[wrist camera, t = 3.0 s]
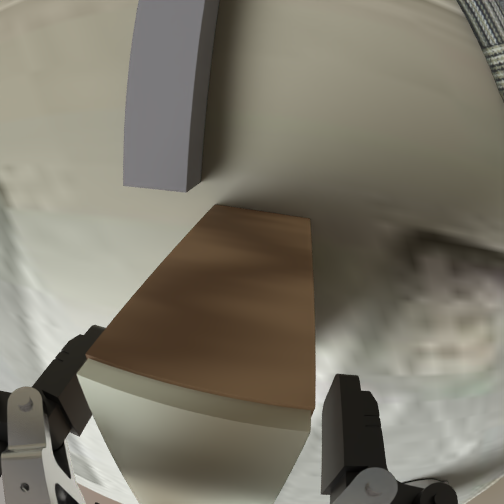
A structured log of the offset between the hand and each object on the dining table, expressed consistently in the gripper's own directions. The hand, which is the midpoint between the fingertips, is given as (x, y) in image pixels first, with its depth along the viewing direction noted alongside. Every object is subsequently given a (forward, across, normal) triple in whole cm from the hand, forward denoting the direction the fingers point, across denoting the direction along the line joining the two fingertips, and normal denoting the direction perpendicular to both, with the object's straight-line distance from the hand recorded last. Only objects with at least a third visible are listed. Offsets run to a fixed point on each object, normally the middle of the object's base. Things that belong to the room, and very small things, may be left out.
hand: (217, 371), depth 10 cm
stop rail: (+7, +4, -12) cm, 14 cm away
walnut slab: (+6, 0, 0) cm, 7 cm away
